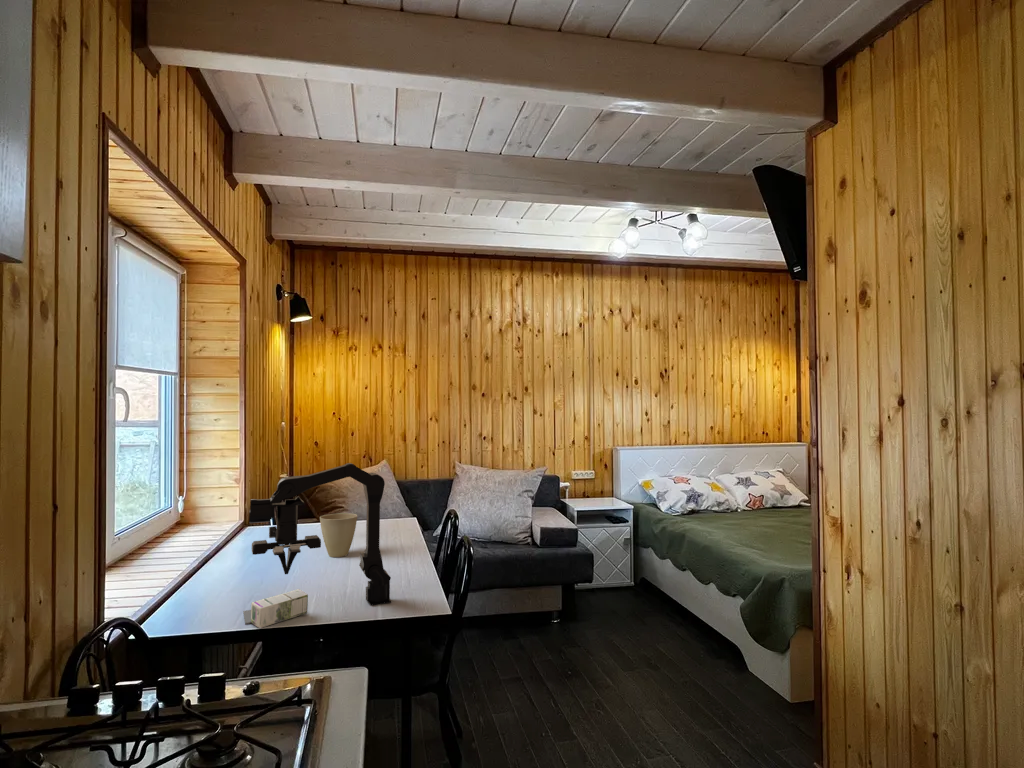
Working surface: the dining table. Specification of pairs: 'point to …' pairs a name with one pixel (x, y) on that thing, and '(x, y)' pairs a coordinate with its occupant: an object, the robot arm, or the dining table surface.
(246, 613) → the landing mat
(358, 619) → the dining table surface
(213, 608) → the dining table surface
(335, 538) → the plant pot
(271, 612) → the syrup box
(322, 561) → the dining table surface
